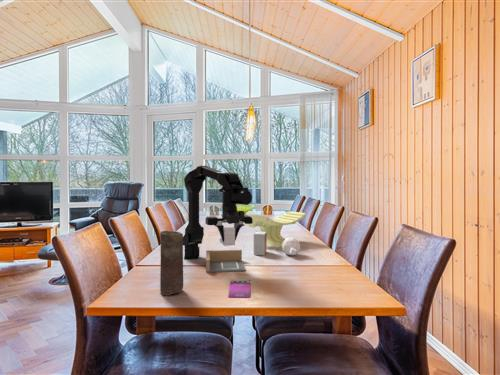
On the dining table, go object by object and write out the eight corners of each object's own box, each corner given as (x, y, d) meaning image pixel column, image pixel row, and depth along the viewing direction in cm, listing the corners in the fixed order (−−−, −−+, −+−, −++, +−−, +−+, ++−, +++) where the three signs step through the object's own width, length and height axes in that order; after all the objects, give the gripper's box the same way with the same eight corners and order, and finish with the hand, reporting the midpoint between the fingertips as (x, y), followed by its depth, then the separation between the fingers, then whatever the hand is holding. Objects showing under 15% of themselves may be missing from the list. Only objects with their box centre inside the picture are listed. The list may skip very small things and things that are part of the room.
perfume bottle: (278, 248, 151) (281, 257, 139) (284, 232, 150) (288, 240, 138) (294, 253, 152) (298, 263, 140) (300, 237, 150) (305, 245, 139)
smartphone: (250, 282, 108) (250, 279, 108) (250, 298, 93) (250, 296, 93) (230, 282, 108) (230, 279, 108) (227, 298, 93) (227, 296, 93)
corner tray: (205, 272, 117) (206, 260, 117) (206, 261, 133) (206, 250, 133) (245, 271, 120) (245, 258, 119) (241, 260, 135) (241, 249, 135)
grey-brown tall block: (162, 287, 100) (163, 229, 100) (184, 287, 101) (184, 229, 101) (157, 296, 93) (157, 233, 92) (181, 296, 93) (181, 233, 93)
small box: (264, 255, 144) (264, 234, 144) (253, 255, 146) (253, 233, 145) (266, 251, 152) (267, 231, 152) (256, 251, 153) (256, 231, 153)
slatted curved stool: (286, 238, 187) (287, 210, 186) (305, 243, 174) (305, 213, 174) (248, 244, 169) (248, 213, 169) (266, 249, 156) (266, 216, 156)
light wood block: (219, 241, 127) (220, 225, 127) (229, 241, 128) (230, 225, 128) (224, 245, 119) (224, 228, 119) (234, 245, 121) (235, 228, 121)
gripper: (210, 205, 110) (210, 246, 111) (257, 204, 116) (256, 243, 116) (205, 203, 121) (205, 240, 121) (248, 202, 127) (248, 238, 127)
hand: (228, 241), depth 121 cm, fingers closed on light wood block, 4 cm apart
